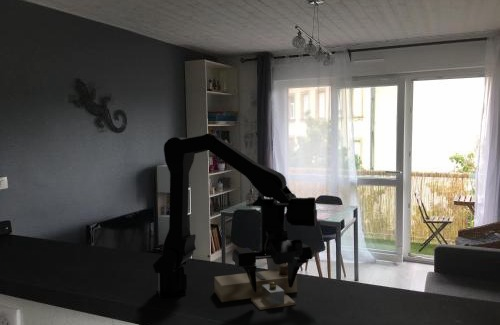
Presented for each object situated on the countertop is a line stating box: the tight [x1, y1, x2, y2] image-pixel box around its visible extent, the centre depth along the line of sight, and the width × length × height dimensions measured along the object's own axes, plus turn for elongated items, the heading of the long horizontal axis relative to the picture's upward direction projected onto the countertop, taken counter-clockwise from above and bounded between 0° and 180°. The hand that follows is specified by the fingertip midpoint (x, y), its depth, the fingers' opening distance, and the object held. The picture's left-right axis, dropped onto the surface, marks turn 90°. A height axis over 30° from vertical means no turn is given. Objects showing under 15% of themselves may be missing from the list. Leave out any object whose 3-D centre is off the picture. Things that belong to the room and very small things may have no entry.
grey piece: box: [262, 282, 284, 305], centre depth 98 cm, size 4×6×4 cm, turn 19°
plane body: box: [214, 263, 298, 303], centre depth 105 cm, size 20×7×6 cm, turn 109°
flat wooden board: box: [250, 293, 296, 311], centre depth 99 cm, size 9×6×1 cm, turn 109°
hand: (272, 289), depth 98 cm, fingers open, 9 cm apart
